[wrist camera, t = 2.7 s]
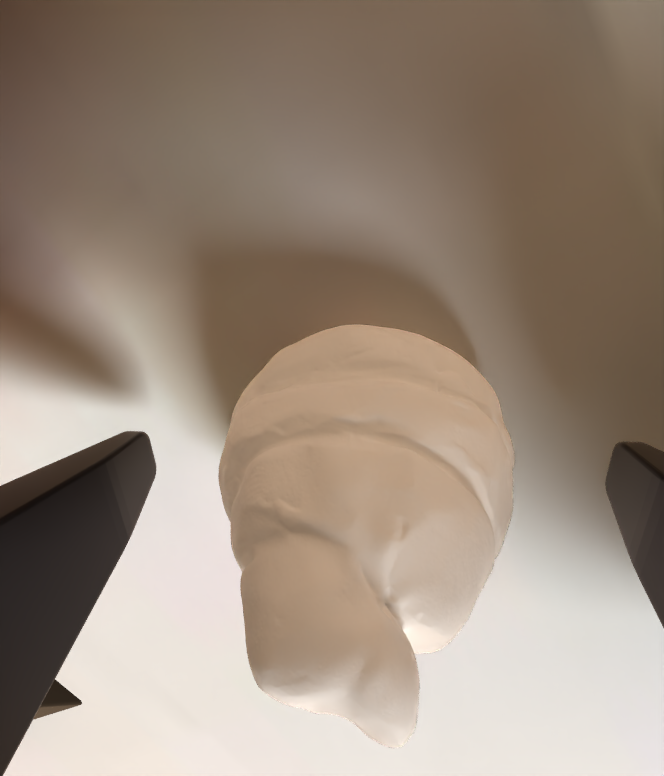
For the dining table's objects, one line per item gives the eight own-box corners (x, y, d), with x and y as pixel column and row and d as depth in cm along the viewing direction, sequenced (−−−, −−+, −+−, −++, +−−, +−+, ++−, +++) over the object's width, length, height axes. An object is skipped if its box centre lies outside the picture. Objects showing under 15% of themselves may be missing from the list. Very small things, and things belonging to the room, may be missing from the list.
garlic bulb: (103, 772, 6) (97, 445, 4) (233, 489, 12) (266, 275, 9) (497, 869, 6) (744, 605, 4) (448, 543, 12) (539, 342, 9)
